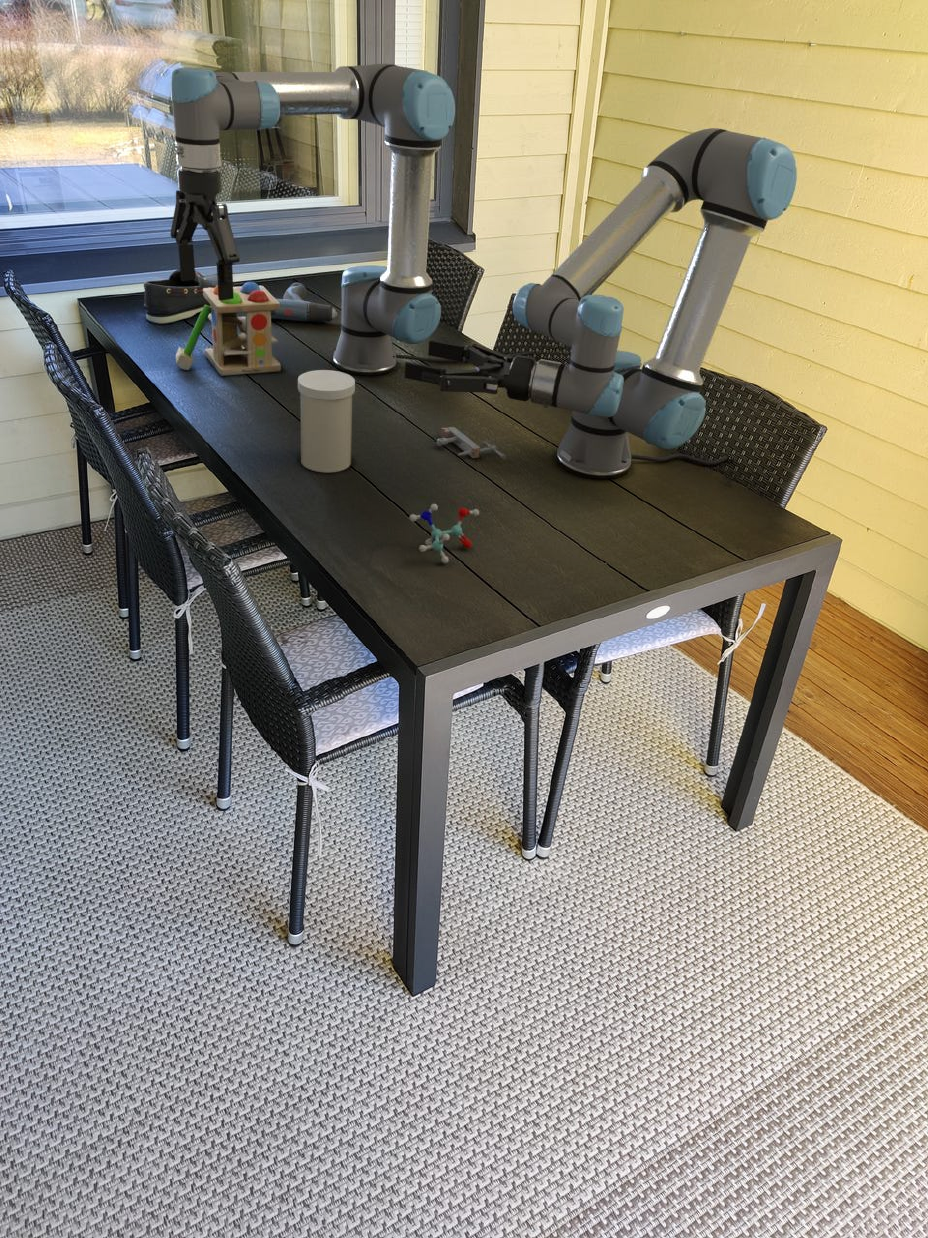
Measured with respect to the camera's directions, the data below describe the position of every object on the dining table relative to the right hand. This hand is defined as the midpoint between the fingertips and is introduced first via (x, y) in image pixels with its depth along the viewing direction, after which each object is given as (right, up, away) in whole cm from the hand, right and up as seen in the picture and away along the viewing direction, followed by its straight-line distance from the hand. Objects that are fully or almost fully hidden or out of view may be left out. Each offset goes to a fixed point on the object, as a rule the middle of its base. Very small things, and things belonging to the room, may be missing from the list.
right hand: (417, 358), depth 175 cm
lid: (-17, -2, +9) cm, 20 cm away
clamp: (+9, -12, +27) cm, 31 cm away
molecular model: (+4, -35, -7) cm, 36 cm away
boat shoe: (-65, +37, +88) cm, 115 cm away
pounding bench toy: (-48, +13, +56) cm, 74 cm away
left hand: (-40, +16, +11) cm, 45 cm away
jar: (-19, -16, +18) cm, 30 cm away
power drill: (-35, +37, +92) cm, 105 cm away
